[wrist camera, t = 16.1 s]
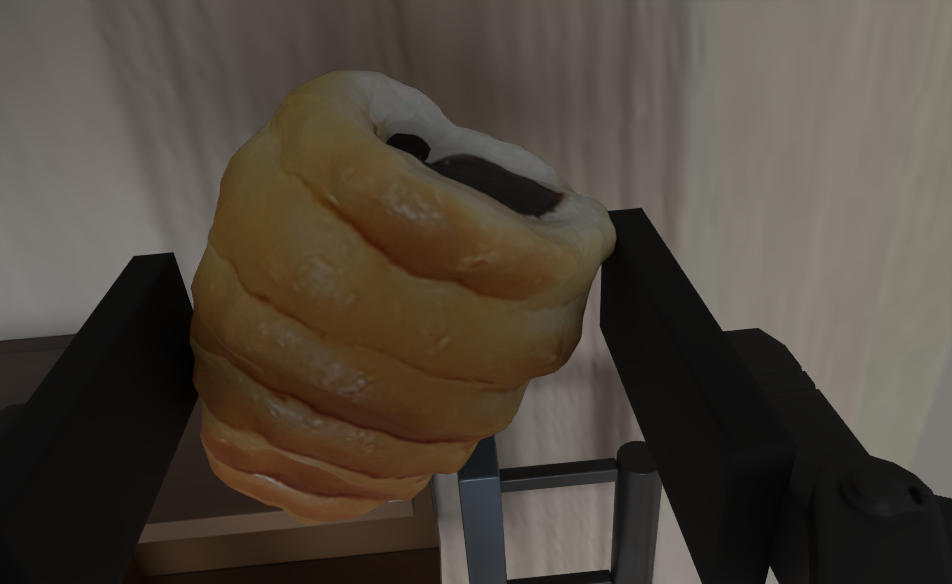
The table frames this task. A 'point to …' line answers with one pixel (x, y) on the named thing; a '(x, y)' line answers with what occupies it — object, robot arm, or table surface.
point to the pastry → (379, 296)
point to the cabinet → (27, 366)
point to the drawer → (377, 527)
